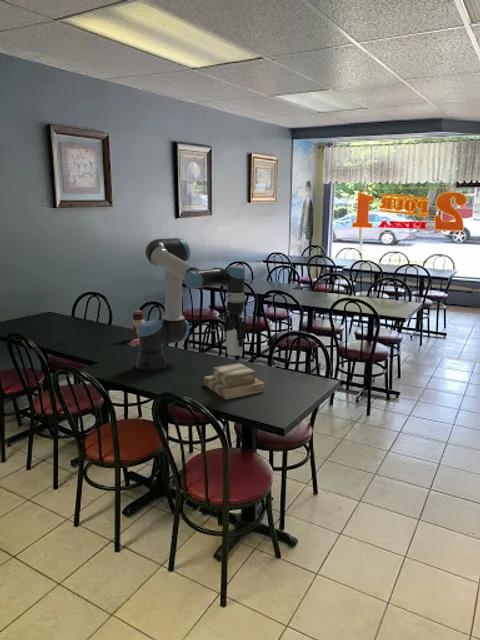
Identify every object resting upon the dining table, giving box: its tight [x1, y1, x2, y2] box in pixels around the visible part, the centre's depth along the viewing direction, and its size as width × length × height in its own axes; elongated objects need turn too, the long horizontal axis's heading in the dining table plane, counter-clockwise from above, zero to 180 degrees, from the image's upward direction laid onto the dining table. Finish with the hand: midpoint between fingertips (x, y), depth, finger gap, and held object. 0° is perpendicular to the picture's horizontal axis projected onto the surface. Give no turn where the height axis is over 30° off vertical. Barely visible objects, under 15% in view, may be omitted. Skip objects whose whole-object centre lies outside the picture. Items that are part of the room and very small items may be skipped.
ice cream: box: [128, 309, 146, 347], centre depth 300 cm, size 16×16×18 cm
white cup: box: [225, 329, 244, 356], centre depth 225 cm, size 8×8×10 cm
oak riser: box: [204, 362, 265, 400], centre depth 229 cm, size 20×20×9 cm
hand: (234, 350), depth 226 cm, fingers closed on white cup, 8 cm apart
